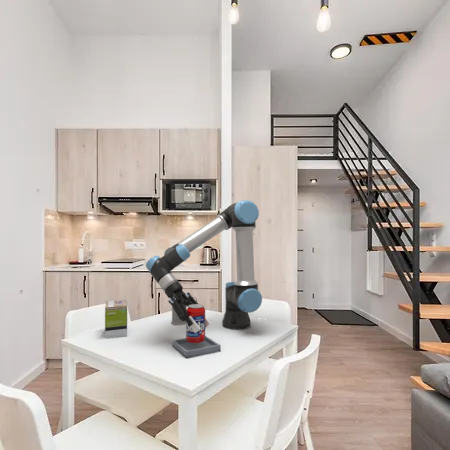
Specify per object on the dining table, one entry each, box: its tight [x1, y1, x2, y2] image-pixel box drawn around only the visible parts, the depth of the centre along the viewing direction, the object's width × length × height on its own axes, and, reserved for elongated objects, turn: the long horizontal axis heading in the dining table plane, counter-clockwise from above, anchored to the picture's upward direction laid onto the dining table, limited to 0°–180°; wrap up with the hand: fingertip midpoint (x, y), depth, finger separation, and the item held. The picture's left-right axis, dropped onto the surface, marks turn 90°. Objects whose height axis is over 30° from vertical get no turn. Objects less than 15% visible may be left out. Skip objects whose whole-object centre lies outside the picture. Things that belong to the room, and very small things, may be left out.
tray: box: [172, 335, 222, 359], centre depth 124 cm, size 15×15×2 cm
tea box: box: [104, 299, 128, 339], centre depth 145 cm, size 15×10×15 cm, turn 21°
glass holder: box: [171, 296, 198, 326], centre depth 164 cm, size 9×14×15 cm, turn 107°
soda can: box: [185, 303, 206, 344], centre depth 124 cm, size 8×8×15 cm
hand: (202, 328), depth 123 cm, fingers closed on soda can, 8 cm apart
